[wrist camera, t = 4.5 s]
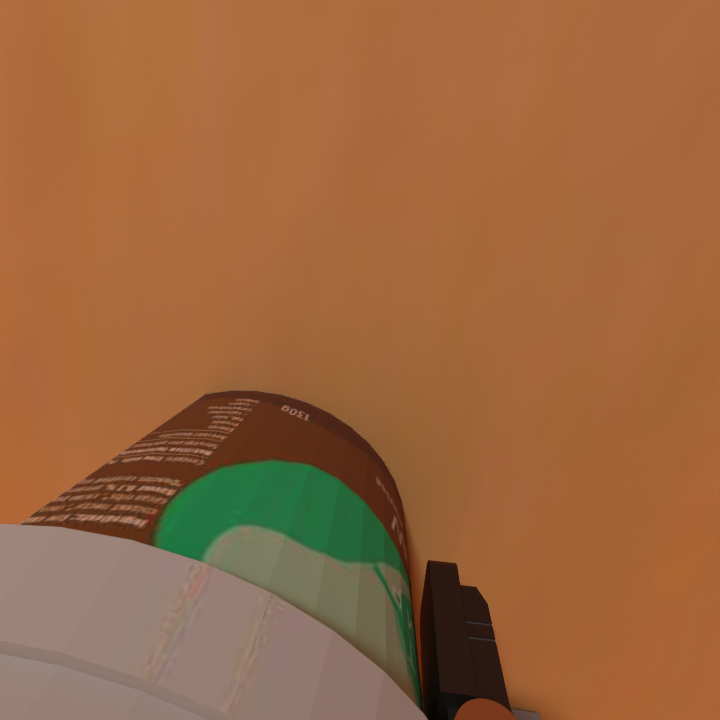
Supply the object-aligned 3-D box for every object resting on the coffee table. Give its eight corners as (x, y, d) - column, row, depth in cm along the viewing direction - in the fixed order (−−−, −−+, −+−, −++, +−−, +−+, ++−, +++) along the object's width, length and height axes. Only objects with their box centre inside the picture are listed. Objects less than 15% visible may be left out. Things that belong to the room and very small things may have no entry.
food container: (473, 641, 17) (559, 1230, 7) (305, 659, 18) (188, 1194, 8) (394, 301, 13) (358, 592, 3) (187, 348, 14) (-270, 670, 5)
